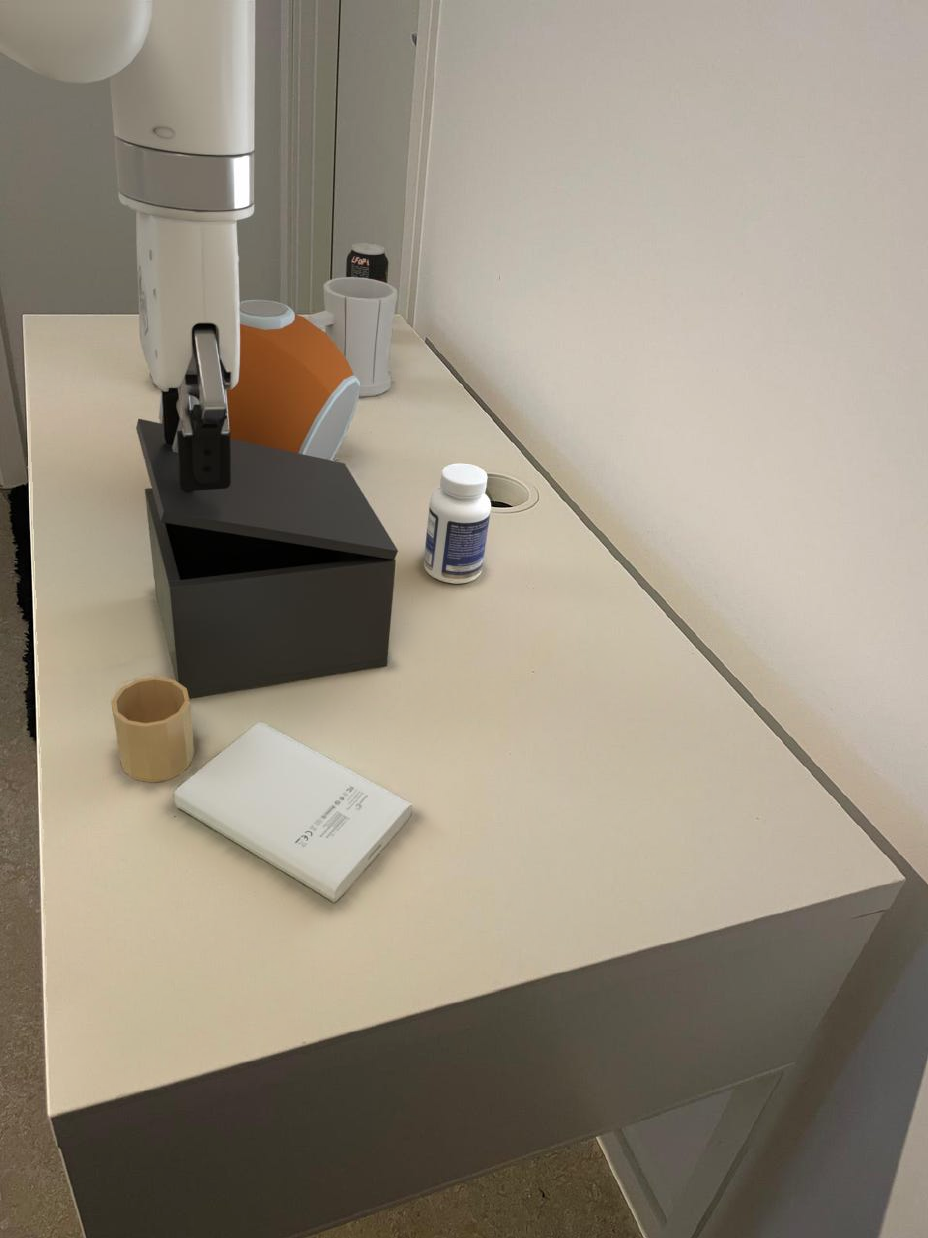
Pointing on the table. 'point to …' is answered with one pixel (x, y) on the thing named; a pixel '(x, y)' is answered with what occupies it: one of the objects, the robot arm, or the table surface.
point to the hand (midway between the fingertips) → (196, 461)
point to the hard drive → (294, 809)
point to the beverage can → (367, 262)
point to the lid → (268, 497)
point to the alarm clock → (289, 384)
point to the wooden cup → (153, 728)
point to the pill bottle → (458, 525)
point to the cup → (361, 327)
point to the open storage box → (265, 608)
